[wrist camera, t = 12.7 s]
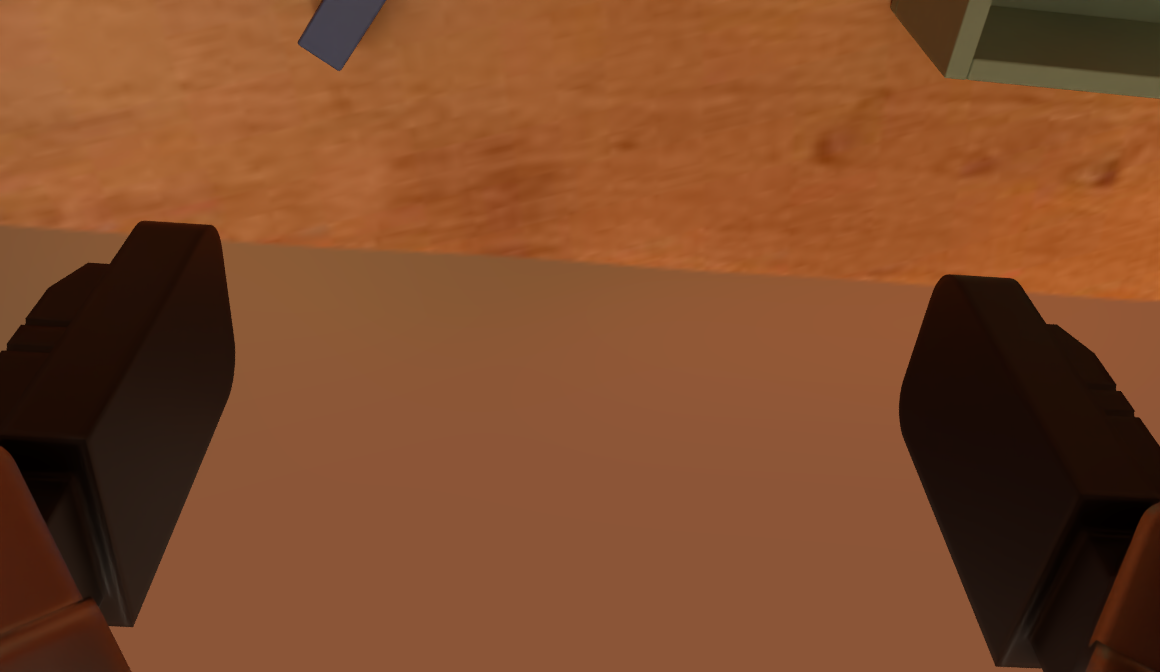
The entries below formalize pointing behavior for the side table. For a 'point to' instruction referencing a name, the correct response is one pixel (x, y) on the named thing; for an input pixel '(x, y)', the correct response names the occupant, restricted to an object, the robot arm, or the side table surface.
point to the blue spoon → (338, 29)
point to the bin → (1042, 42)
